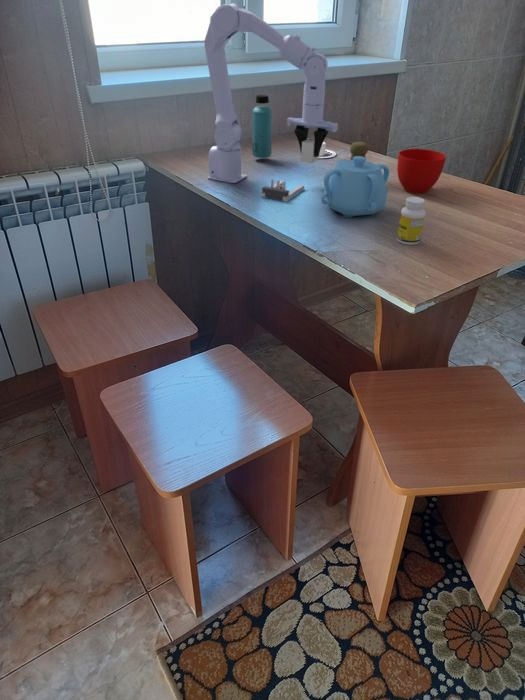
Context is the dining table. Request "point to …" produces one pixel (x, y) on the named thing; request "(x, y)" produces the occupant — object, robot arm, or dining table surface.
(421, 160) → the ceramic cup
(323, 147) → the candle holder
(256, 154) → the beverage bottle
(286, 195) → the socket
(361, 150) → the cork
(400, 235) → the supplement bottle
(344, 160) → the decorative pot
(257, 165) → the dining table surface
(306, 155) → the plug block
